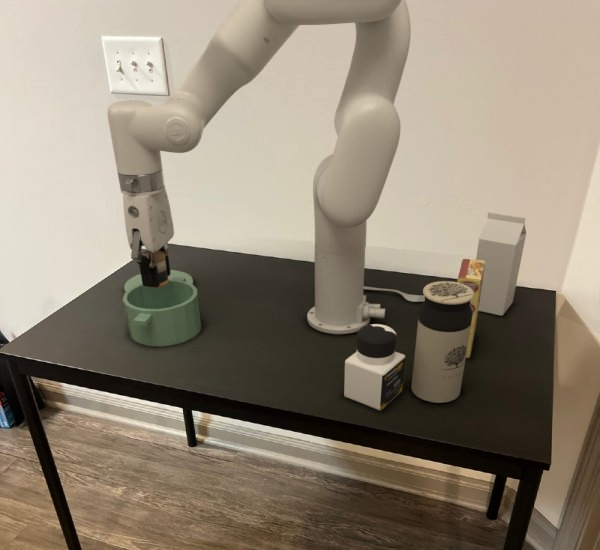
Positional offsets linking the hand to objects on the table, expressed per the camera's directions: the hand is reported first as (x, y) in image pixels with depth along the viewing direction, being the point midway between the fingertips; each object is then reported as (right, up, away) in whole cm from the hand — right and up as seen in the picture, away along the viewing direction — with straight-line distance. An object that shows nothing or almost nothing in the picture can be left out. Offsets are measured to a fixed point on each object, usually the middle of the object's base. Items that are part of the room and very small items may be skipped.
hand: (156, 279), depth 114 cm
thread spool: (0, -1, 0) cm, 1 cm away
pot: (0, -9, +6) cm, 11 cm away
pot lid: (-5, +3, +22) cm, 22 cm away
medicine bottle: (+39, -22, -14) cm, 47 cm away
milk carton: (+67, -3, +12) cm, 68 cm away
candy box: (+57, -13, -1) cm, 58 cm away
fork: (+46, 0, +18) cm, 49 cm away
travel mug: (+49, -21, -13) cm, 56 cm away
